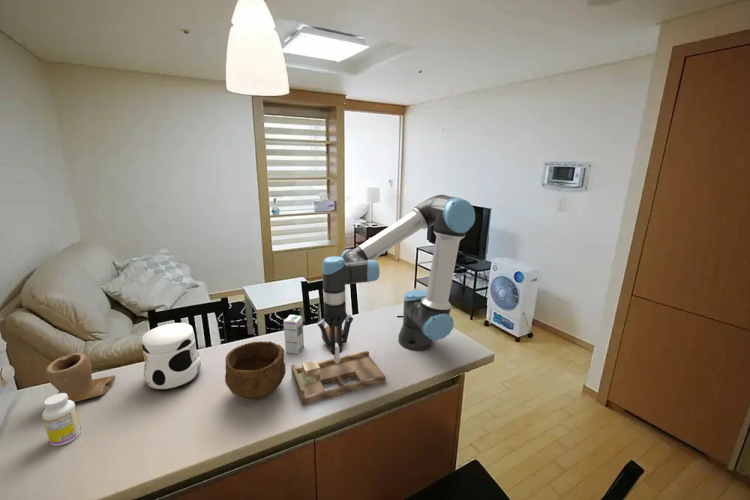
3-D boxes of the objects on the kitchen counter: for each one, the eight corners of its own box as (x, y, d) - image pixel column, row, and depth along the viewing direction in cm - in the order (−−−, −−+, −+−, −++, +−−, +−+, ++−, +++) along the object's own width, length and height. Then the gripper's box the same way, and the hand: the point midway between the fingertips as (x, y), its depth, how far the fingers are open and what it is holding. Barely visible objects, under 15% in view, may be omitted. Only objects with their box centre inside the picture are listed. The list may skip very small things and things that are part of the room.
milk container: (139, 378, 120) (131, 333, 115) (191, 359, 132) (186, 317, 128) (154, 402, 109) (146, 352, 104) (209, 378, 121) (204, 333, 116)
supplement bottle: (63, 428, 97) (53, 390, 94) (87, 427, 98) (78, 389, 95) (43, 448, 91) (31, 407, 88) (69, 446, 91) (59, 406, 88)
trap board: (367, 359, 134) (367, 347, 133) (385, 382, 121) (385, 368, 119) (291, 378, 122) (291, 364, 120) (301, 405, 108) (301, 391, 107)
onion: (332, 345, 149) (333, 322, 151) (348, 347, 144) (349, 323, 146) (316, 346, 142) (317, 322, 144) (332, 348, 136) (333, 322, 138)
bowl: (297, 382, 119) (295, 345, 116) (264, 419, 102) (260, 376, 98) (253, 371, 125) (250, 335, 122) (214, 404, 108) (209, 363, 104)
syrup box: (298, 354, 137) (297, 321, 133) (284, 352, 138) (283, 320, 134) (304, 347, 142) (302, 315, 138) (291, 345, 143) (289, 314, 140)
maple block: (316, 369, 123) (315, 360, 122) (320, 377, 119) (319, 367, 117) (302, 373, 121) (302, 363, 120) (305, 381, 116) (305, 371, 115)
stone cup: (45, 415, 102) (34, 372, 98) (61, 391, 113) (51, 351, 109) (107, 401, 108) (98, 360, 105) (117, 380, 119) (109, 342, 115)
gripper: (348, 294, 123) (349, 351, 129) (313, 300, 117) (316, 360, 123) (356, 301, 116) (357, 362, 122) (319, 308, 111) (322, 371, 117)
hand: (336, 361), depth 123 cm, fingers closed
